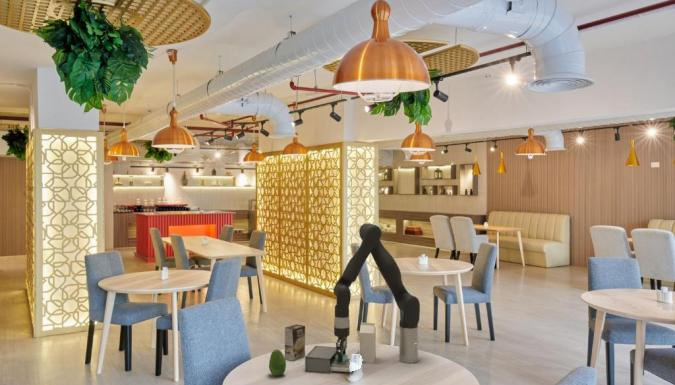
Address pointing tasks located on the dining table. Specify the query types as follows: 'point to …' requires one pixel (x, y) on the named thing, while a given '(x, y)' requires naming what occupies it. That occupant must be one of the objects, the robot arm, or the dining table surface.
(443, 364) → the dining table surface
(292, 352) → the coffee box
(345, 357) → the disc
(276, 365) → the avocado
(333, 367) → the tray
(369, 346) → the milk carton
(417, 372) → the dining table surface
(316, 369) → the player housing
